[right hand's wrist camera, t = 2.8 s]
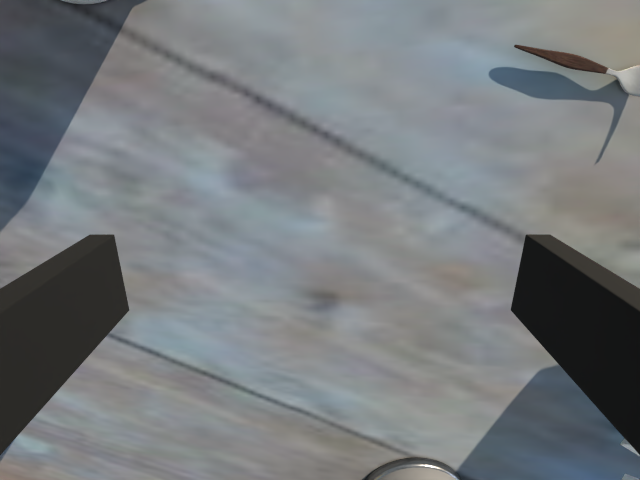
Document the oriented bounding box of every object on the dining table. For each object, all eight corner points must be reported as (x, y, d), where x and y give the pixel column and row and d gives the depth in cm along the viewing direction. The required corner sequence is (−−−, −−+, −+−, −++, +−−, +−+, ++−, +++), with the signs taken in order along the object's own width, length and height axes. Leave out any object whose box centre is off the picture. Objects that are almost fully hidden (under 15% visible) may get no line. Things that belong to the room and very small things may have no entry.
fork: (517, 30, 35) (528, 26, 33) (676, 74, 36) (695, 73, 34) (506, 61, 36) (516, 59, 34) (661, 103, 37) (679, 103, 35)
